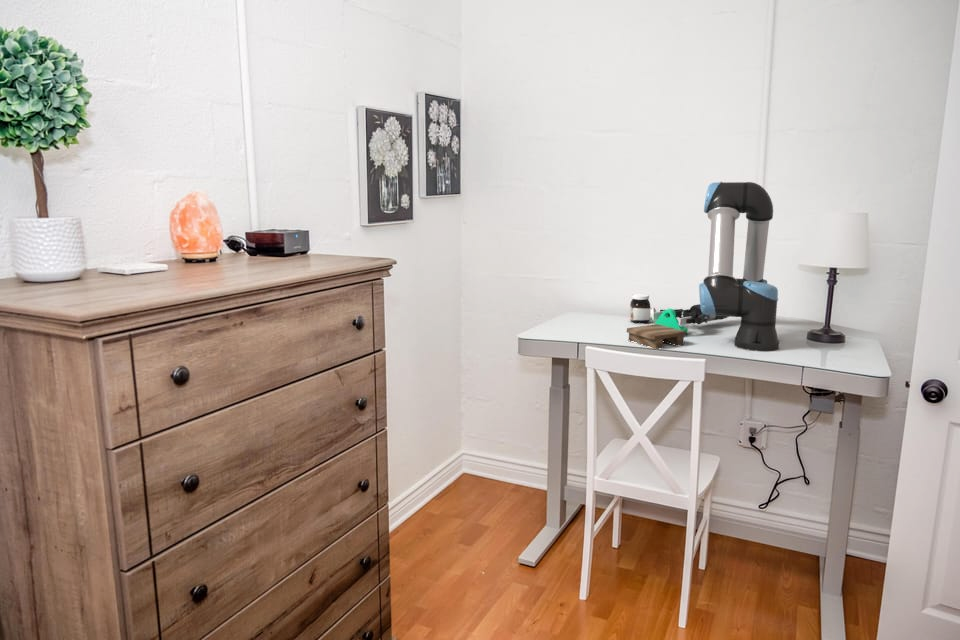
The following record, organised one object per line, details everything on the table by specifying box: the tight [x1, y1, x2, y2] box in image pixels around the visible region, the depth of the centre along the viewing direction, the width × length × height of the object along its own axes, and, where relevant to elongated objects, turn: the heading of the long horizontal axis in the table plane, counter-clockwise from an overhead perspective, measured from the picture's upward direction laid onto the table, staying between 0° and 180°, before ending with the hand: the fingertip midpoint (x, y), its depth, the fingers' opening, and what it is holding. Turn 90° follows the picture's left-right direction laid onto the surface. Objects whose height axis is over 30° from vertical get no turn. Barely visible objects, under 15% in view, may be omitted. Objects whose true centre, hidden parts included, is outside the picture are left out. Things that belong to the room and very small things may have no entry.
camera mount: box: [653, 308, 688, 333], centre depth 270 cm, size 12×8×10 cm, turn 54°
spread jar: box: [629, 293, 658, 325], centre depth 291 cm, size 12×11×12 cm
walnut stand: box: [626, 324, 687, 350], centre depth 255 cm, size 15×15×5 cm
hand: (665, 319), depth 269 cm, fingers open, 13 cm apart
